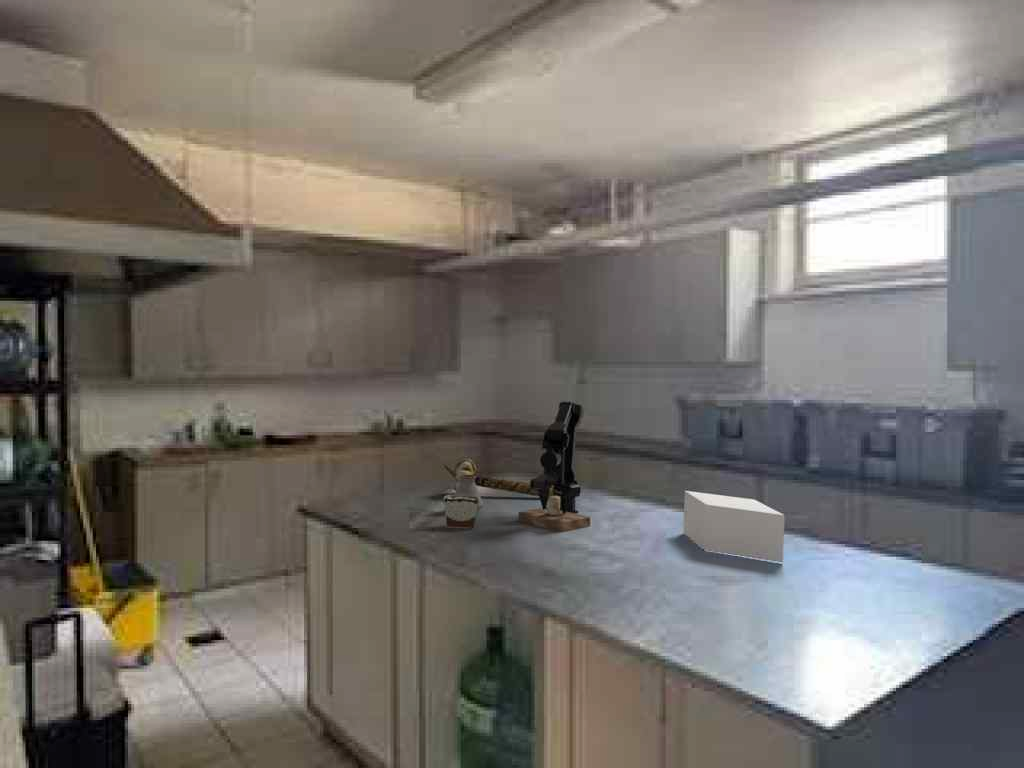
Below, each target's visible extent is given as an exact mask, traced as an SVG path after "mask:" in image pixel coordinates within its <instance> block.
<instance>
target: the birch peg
mask: <svg viewBox="0 0 1024 768" xmlns="http://www.w3.org/2000/svg"><path fill="white" fill-rule="evenodd" d="M547 507H548V516H552V517H558V516H560V497H559V496H549V498H548V502H547Z"/></svg>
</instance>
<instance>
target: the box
mask: <svg viewBox="0 0 1024 768" xmlns="http://www.w3.org/2000/svg"><path fill="white" fill-rule="evenodd" d="M683 502H684V504H683V506H684V507H683V527H682V528H683V529H682V530H683V533H684V534H686V535H687V536H688V537H689V538H690V539H692V540H693V541H694V542H695V543H697V544H698V545H699V546H700V547H702V548H703V549H704V550H708V551H713V552H721V553H727V554H733V555H740V556H746V557H752V558H758V559H765V560H771V561H778V562H783V563H784V561H783V560H784V540H785V538H784V537H785V536H784V535H785V518H786V517H785V514H783V513H782V512H779V511H778V510H775V509H773V508H771V507H769V506H768V505H765V504H764V503H762V502H760V501H758V500H756V499H754V498H746V497H745V498H744V497H739V496H738V497H736V496H730V495H729V496H728V495H723V494H722V495H721V494H713V493H705V492H698V491H690V490H684V501H683ZM684 534H683V535H684ZM686 535H685V536H686ZM687 536H686V537H687ZM688 537H687V538H688ZM689 538H688V539H689ZM690 539H689V540H690ZM692 540H691V541H692ZM693 541H692V542H693ZM694 542H693V543H694ZM695 543H694V544H695ZM699 546H698V547H699ZM700 547H699V548H700Z"/></svg>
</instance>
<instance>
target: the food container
mask: <svg viewBox="0 0 1024 768" xmlns="http://www.w3.org/2000/svg"><path fill="white" fill-rule="evenodd" d="M441 502H442V504H443V505H444V516H445V528H450V529H451V528H453V529H469V528H472V529H476V520H477V515H478V514H477V513H478V512H477V507H478V503H479V505H480V502H479V499H478V497H477V496H474V495H466V494H455V493H454V494H447V495H445V496H443V498H442V501H441Z"/></svg>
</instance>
